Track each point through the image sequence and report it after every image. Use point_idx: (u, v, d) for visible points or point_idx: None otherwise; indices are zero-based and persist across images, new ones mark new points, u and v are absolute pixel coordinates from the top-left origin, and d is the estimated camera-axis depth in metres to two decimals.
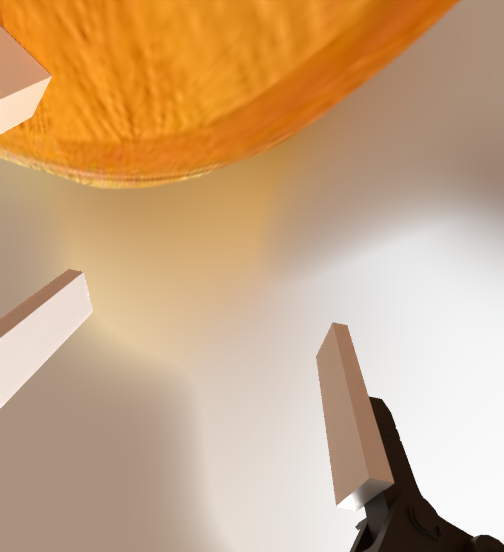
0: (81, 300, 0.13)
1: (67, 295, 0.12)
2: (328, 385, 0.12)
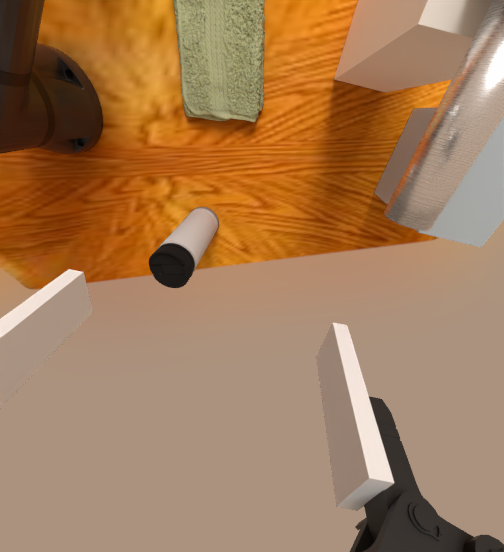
0: (81, 300, 0.13)
1: (67, 295, 0.12)
2: (328, 385, 0.12)
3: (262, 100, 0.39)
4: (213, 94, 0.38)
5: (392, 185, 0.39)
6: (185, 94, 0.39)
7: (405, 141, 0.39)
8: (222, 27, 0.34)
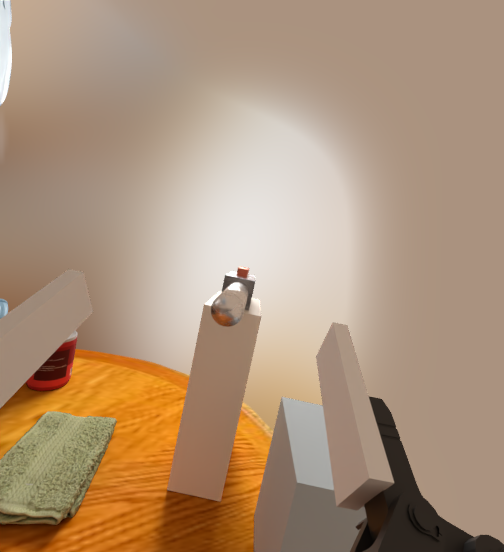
0: (81, 300, 0.13)
1: (67, 295, 0.12)
2: (328, 385, 0.12)
3: (79, 499, 0.32)
4: (19, 484, 0.31)
5: None
6: None
7: (258, 533, 0.31)
8: (67, 439, 0.39)
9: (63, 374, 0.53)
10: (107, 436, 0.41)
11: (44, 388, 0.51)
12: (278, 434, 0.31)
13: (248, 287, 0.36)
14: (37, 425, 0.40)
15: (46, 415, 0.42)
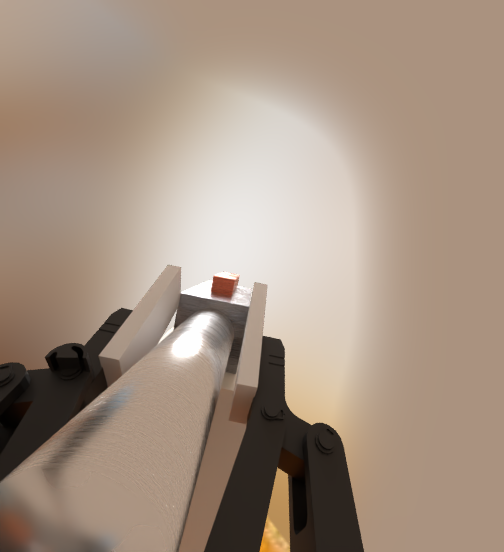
0: (177, 292, 0.15)
1: (172, 287, 0.14)
2: (244, 333, 0.13)
3: None
4: None
5: None
6: None
7: None
8: None
9: None
10: None
11: None
12: None
13: (234, 321, 0.16)
14: None
15: None
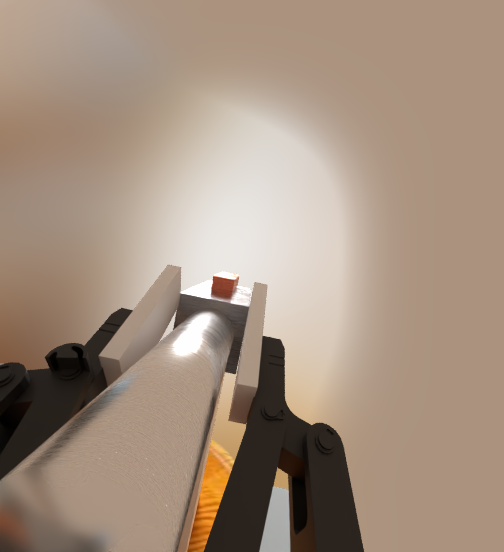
0: (177, 292, 0.15)
1: (172, 287, 0.14)
2: (244, 333, 0.13)
3: None
4: None
5: None
6: None
7: None
8: None
9: None
10: None
11: None
12: None
13: (234, 321, 0.16)
14: None
15: None
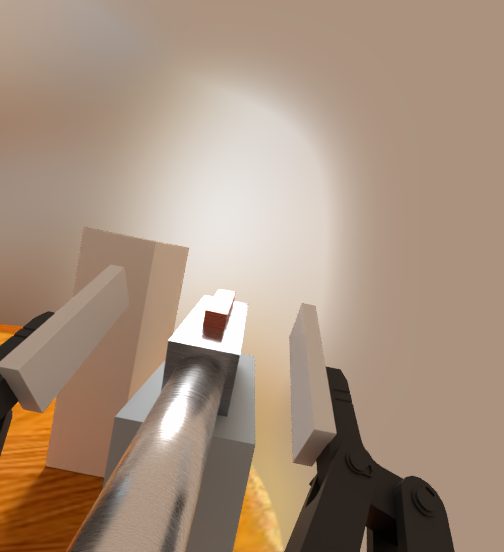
0: (121, 293, 0.14)
1: (112, 288, 0.13)
2: (295, 360, 0.12)
3: None
4: None
5: None
6: None
7: None
8: None
9: None
10: None
11: None
12: None
13: (224, 368, 0.15)
14: None
15: None
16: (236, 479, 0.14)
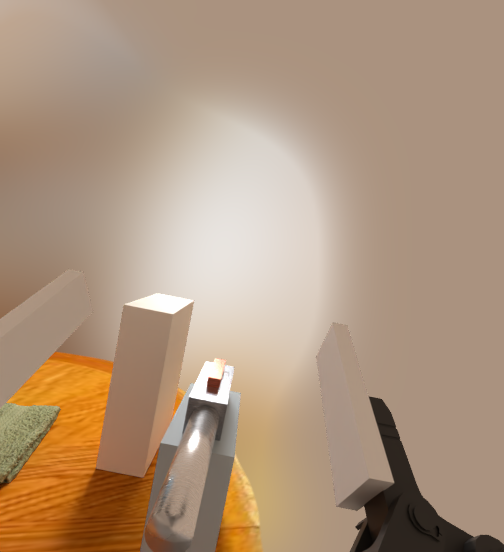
0: (81, 300, 0.13)
1: (67, 295, 0.12)
2: (328, 385, 0.12)
3: (16, 469, 0.38)
4: None
5: None
6: None
7: None
8: (10, 423, 0.44)
9: None
10: (48, 420, 0.47)
11: None
12: None
13: (219, 412, 0.28)
14: None
15: None
16: (224, 475, 0.27)
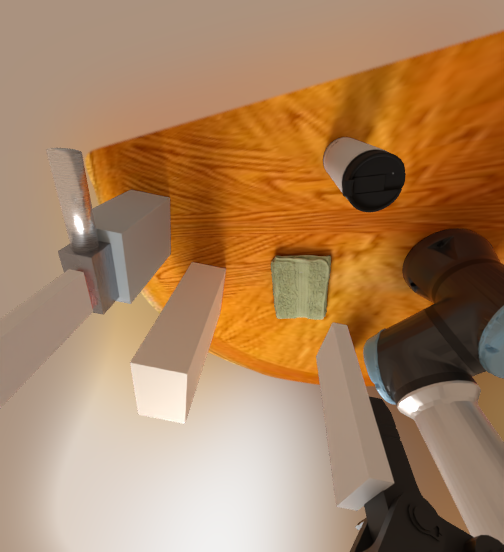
0: (81, 300, 0.13)
1: (67, 295, 0.12)
2: (328, 385, 0.12)
3: (271, 267, 0.55)
4: (305, 271, 0.54)
5: (158, 219, 0.47)
6: (327, 270, 0.53)
7: (166, 241, 0.53)
8: (297, 299, 0.57)
9: None
10: (275, 303, 0.59)
11: None
12: (138, 278, 0.43)
13: (69, 248, 0.33)
14: (322, 307, 0.58)
15: (321, 314, 0.59)
16: None
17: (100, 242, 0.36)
